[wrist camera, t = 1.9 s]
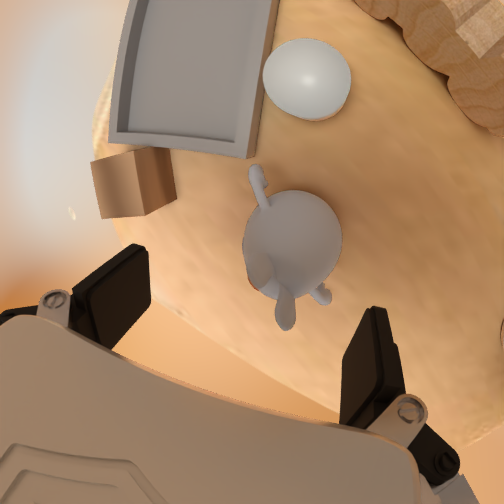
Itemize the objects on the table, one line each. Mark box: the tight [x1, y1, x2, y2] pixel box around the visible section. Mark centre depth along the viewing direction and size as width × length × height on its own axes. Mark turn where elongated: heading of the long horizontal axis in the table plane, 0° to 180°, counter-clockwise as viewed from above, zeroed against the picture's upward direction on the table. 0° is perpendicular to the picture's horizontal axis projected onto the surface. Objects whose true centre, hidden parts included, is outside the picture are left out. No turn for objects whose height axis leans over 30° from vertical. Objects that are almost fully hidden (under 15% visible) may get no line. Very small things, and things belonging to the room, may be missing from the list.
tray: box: [108, 0, 280, 159], centre depth 17 cm, size 13×18×2 cm
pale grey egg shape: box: [263, 38, 351, 121], centre depth 15 cm, size 5×5×5 cm
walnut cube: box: [91, 147, 177, 219], centre depth 22 cm, size 5×5×5 cm
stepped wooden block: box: [354, 0, 504, 137], centre depth 8 cm, size 6×17×10 cm, turn 49°
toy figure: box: [242, 164, 342, 331], centre depth 17 cm, size 11×6×12 cm, turn 32°
